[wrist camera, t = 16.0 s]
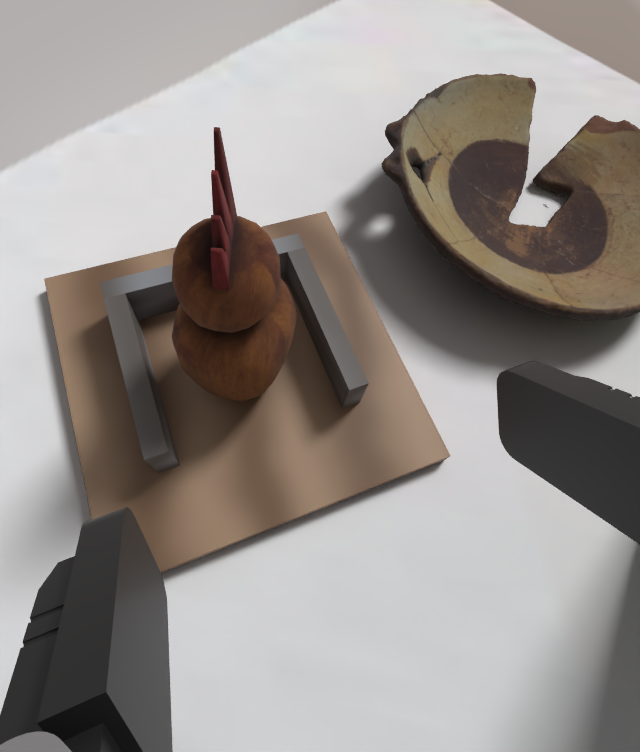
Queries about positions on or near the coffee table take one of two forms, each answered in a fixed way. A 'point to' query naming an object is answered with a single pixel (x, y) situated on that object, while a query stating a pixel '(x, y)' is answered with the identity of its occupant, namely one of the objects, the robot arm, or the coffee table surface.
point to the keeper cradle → (234, 402)
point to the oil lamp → (504, 186)
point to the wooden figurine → (230, 299)
